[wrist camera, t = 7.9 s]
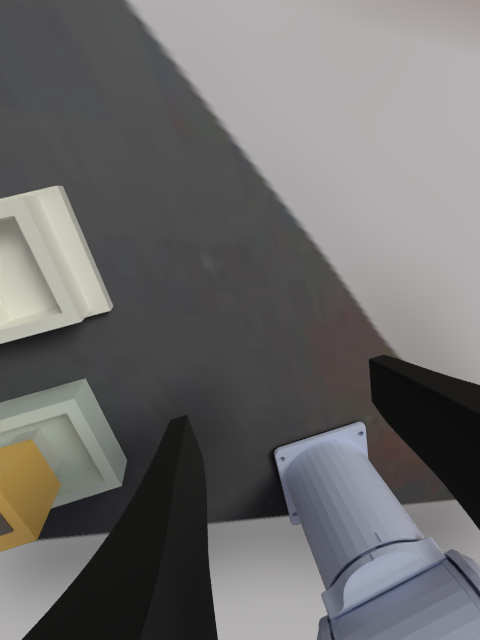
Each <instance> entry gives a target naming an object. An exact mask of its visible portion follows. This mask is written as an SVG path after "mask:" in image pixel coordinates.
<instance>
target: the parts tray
mask: <svg viewBox="0 0 480 640" xmlns="http://www.w3.org/2000/svg"><path fill="white" fill-rule="evenodd" d="M37 428H41V429H42V431H43V433H44V434H45V436H46V438H47V439H48V441H49V442H50V444H51V446H52V447H53V449H54V451H55V452H56V454H57V455H58V457H59V459H60V461H59V464H58V466H57V468H56V470H55V472H54V474H55V475H56V477H57V479H58V480H59V482H60V483H61V486H60V488H59V490H58V493H57V495H56V497H55V500H54V502H53V504H52V507H51V508H54V507H57V506H60V505H64V504H67V503H70V502H73V501H76V500H79V499H82V498H86V497H89V496H92V495H95V494H98V493H101V492H104V491H108V490H111V489H114V488H117V487H120V486H122V482H123V477H124V473H125V468H126V463H127V459H126V457H125V455H124V453H123V451H122V449H121V447H120V445H119V443H118V441H117V439H116V437H115V435H114V433H113V432H112V430H111V428H110V426H109V424H108V422H107V420H106V418H105V416H104V414H103V412H102V410H101V408H100V406H99V404H98V402H97V400H96V398H95V396H94V394H93V392H92V390H91V388H90V386H89V384H88V382H87V381H86V379H85V378H84V379H81V380H77V381H74V382H71V383H67V384H64V385H60V386H57V387H53V388H50V389H46V390H43V391H39V392H36V393H32V394H29V395H25V396H22V397H18V398H15V399H11V400H8V401H4V402H1V403H0V448H2V447H6V446H9V445H10V444H11V442H12V441H13V439H14V438H15V437H16V435H17V434H19V433H23V432H26V431H30V430H33V429H37Z"/></svg>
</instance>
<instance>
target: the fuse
mask: <svg viewBox="0 0 480 640" xmlns="http://www.w3.org/2000/svg"><path fill="white" fill-rule="evenodd" d="M59 461H60V459H59V457H58V455H57V454H56V452H55V451H54V449H53V447H52V446H51V444H50V442H49V441H48V439H47V438H46V436H45V434H44V433H43V431H42V429H41V428H37V429H33V430H30V431H26V432H23V433H19V434H17V435H16V437H15V438H14V439H13V441H12V442H11V444H10V445H9V446H6V447H2V448H0V552H1V551H4V550H8V549H11V548H14V547H17V546H20V545H23V544H26V543H29V542H33V541H36V540H37V539H38V537H39V535H40V532H41V530H42V528H43V525H44V523H45V521H46V518H47V516H48V514H49V511H50V509H51V507H52V504H53V502H54V500H55V497H56V495H57V493H58V490H59V488H60V486H61V483H60V482H59V480H58V479H57V477H56V475H55V474H54V472H55V470H56V468H57V466H58V464H59Z"/></svg>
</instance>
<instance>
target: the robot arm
mask: <svg viewBox="0 0 480 640" xmlns="http://www.w3.org/2000/svg"><path fill="white" fill-rule="evenodd" d="M369 367H370V381H371V395H372V402H373V404H374V405H375V407H376V408H377V409H378V411H379V412H380V414H381V415H382V416H383V418H384V419H385V420H386V422H387V423H388V424H389V425H390V426H391V427H392V429H393V430H394V431H395V432H396V433H397V434H398V435H399V436H400V437H401V438H402V439H403V440H404V441H405V442H406V444H407V445H408V446H409V447H410V448H411V449H412V450H413V451H414V452H415V453H416V454H417V455H418V456H419V457H420V458H421V459H422V460H423V461H424V463H425V464H426V465H427V466H428V467H429V468H430V469H431V470H432V471H433V472H434V473H435V474H436V475H437V477H438V478H439V479H440V480H441V481H442V482H443V483H444V485H445V486H446V487H447V488H448V490H449V491H450V492H451V493H452V495H453V496H454V497H455V498H456V500H457V501H458V502H459V504H460V505H461V506H462V507H463V509H464V510H465V511H466V512H467V514H468V515H469V516H470V518H471V519H472V520H473V522H474V523H475V524H476V526H477V527H478V528H479V530H480V385H477V384H474V383H471V382H467V381H463V380H460V379H457V378H453V377H450V376H447V375H444V374H441V373H438V372H434V371H432V370H429V369H426V368H422V367H420V366H417V365H414V364H411V363H408V362H405V361H402V360H399V359H396V358H393V357H390V356H386V355H381V356H378V357H374V358H371V359H369ZM274 456H275V460H276V464H277V468H278V472H279V476H280V480H281V484H282V488H283V492H284V496H285V500H286V504H287V508H288V512H289V516H290V520H291V523H292V524H294V525H297V524H300V523H301V524H302V527H303V529H304V532H305V535H306V537H307V540H308V543H309V546H310V548H311V551H312V554H313V556H314V559H315V562H316V564H317V567H318V570H319V573H320V575H321V578H322V581H323V583H324V586H325V588H326V591H325V592H323V593H322V594H321V595H322V599H323V602H324V604H325V607H326V610H327V613H328V615H327V616H325V617H323V618H321V619H320V621H319V631H318V636H317V640H480V565H479V564H478V563H477V562H475V561H474V560H473V559H471V558H469V557H468V556H465V555H463V554H460V553H459V552H457V551H455V550H449V551H448V552H446V553H444V554H443V552H442V551H441V550H440V548H439V547H438V546H437V545H436V543H435V542H434V540H433V539H432V538H431V537H427V538H425V537H424V536H423V535H422V533H421V532H420V530H419V529H418V528H417V526H416V525H415V524H414V522H413V521H412V519H411V518H410V517H409V515H408V514H407V513H406V511H405V510H404V509H403V507H402V506H401V504H400V503H399V501H398V500H397V499H396V497H395V496H394V495H393V493H392V492H391V490H390V489H389V488H388V486H387V485H386V484H385V482H384V481H383V479H382V478H381V477H380V475H379V474H378V473H377V471H376V470H375V468H374V467H373V466H372V464H371V463H370V462H369V460H368V452H367V440H366V428H365V425H364V424H363V423H362V422H356V423H353V424H350V425H347V426H344V427H341V428H338V429H335V430H331V431H328V432H325V433H322V434H319V435H316V436H313V437H310V438H307V439H303V440H300V441H297V442H294V443H291V444H288V445H285V446H282V447H279V448H277V449H276V450H275V451H274ZM281 457H282V458H281ZM22 640H218V638H217V630H216V622H215V613H214V606H213V596H212V589H211V579H210V570H209V557H208V529H207V492H206V478H205V470H204V463H203V457H202V453H201V451H200V448H199V445H198V443H197V440H196V437H195V435H194V432H193V429H192V427H191V424H190V422H189V419H188V416H187V415H185V416H182V417H179V418H176V419H172V420H171V421H170V422H169V424H168V427H167V429H166V431H165V434H164V436H163V438H162V441H161V443H160V445H159V447H158V450H157V452H156V454H155V456H154V458H153V460H152V462H151V464H150V466H149V468H148V470H147V472H146V474H145V476H144V478H143V480H142V482H141V484H140V485H139V487H138V489H137V491H136V493H135V495H134V496H133V498H132V500H131V501H130V503H129V505H128V506H127V508H126V510H125V511H124V513H123V514H122V516H121V517H120V519H119V521H118V522H117V524H116V525H115V527H114V528H113V530H112V531H111V532H110V534H109V535H108V537H107V538H106V539H105V541H104V542H103V544H102V545H101V546H100V548H99V549H98V551H97V552H96V553H95V554H94V556H93V557H92V559H91V560H90V561H89V563H88V564H87V565H86V566H85V568H84V569H83V570H82V571H81V573H80V574H79V575H78V576H77V578H76V579H75V580H74V581H73V583H72V584H71V585H70V586H69V587H68V588H67V590H66V591H65V592H64V593H63V594H62V595H61V597H60V598H59V599H58V600H57V601H56V602H55V604H54V605H53V606H52V607H51V608H50V609H49V611H48V612H47V613H46V614H45V615H44V616H43V617H42V618H41V619H40V620H39V621H38V623H37V624H36V625H35V626H34V627H33V628H32V629H31V630H30V631H29V632H28V633H27V634H26V636H25V637H24V638H23V639H22Z"/></svg>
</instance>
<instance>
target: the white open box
mask: <svg viewBox="0 0 480 640" xmlns="http://www.w3.org/2000/svg"><path fill="white" fill-rule="evenodd" d="M112 308H113V305H112V302H111V300H110V297H109V295H108V293H107V290H106V288H105V285H104V283H103V281H102V278H101V276H100V274H99V271H98V269H97V266H96V264H95V262H94V259H93V257H92V255H91V252H90V250H89V247H88V245H87V243H86V240H85V238H84V235H83V233H82V231H81V228H80V226H79V224H78V221H77V219H76V216H75V214H74V212H73V209H72V207H71V205H70V202H69V200H68V197H67V195H66V193H65V190H64V188H63V186H53V187H49V188H45V189H41V190H36V191H32V192H28V193H24V194H19V195H15V196H11V197H7V198H2V199H0V344H2V343H5V342H9V341H13V340H16V339H20V338H24V337H27V336H31V335H35V334H38V333H42V332H46V331H49V330H53V329H57V328H60V327H64V326H68V325H71V324H75V323H79V322H82V321H83V320H84V318H85V317H89V316H93V315H96V314H100V313H104V312H107V311H111V309H112Z"/></svg>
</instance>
